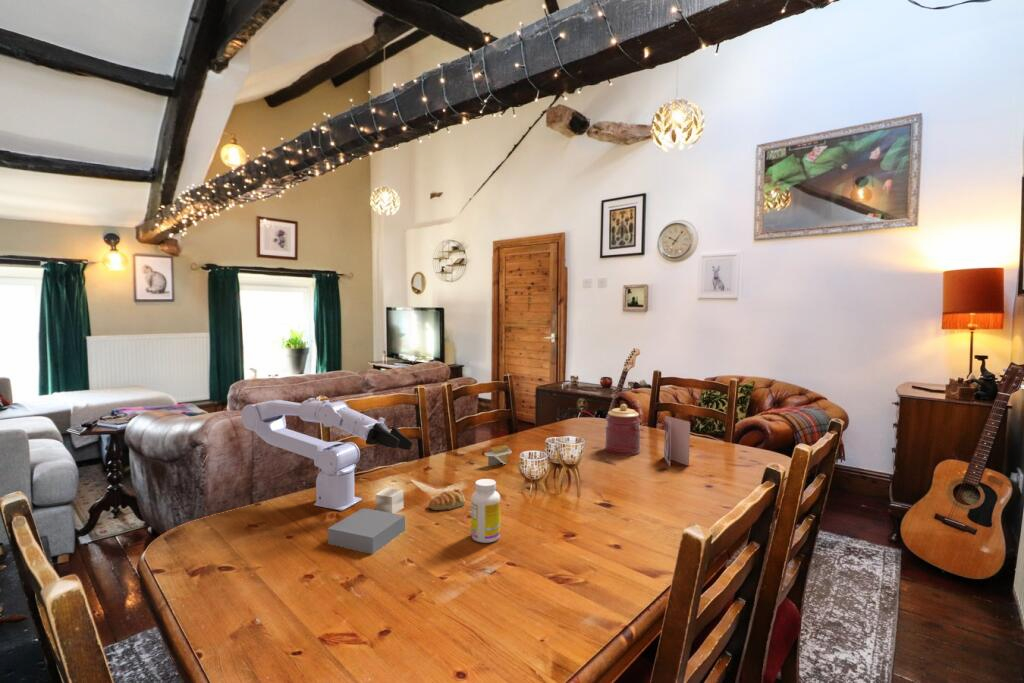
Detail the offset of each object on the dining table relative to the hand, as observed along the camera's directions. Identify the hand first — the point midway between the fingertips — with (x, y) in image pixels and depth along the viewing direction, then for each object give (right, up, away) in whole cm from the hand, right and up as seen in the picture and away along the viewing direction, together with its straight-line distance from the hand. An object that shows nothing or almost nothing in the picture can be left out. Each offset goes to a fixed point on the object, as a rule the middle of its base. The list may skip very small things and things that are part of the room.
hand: (404, 445), depth 120 cm
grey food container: (+23, -16, +41) cm, 50 cm away
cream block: (-5, -18, +4) cm, 19 cm away
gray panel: (-6, -19, -11) cm, 23 cm away
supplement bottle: (+21, -19, -11) cm, 30 cm away
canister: (+68, -15, +59) cm, 91 cm away
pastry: (+10, -18, +8) cm, 22 cm away
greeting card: (+84, -16, +46) cm, 96 cm away
